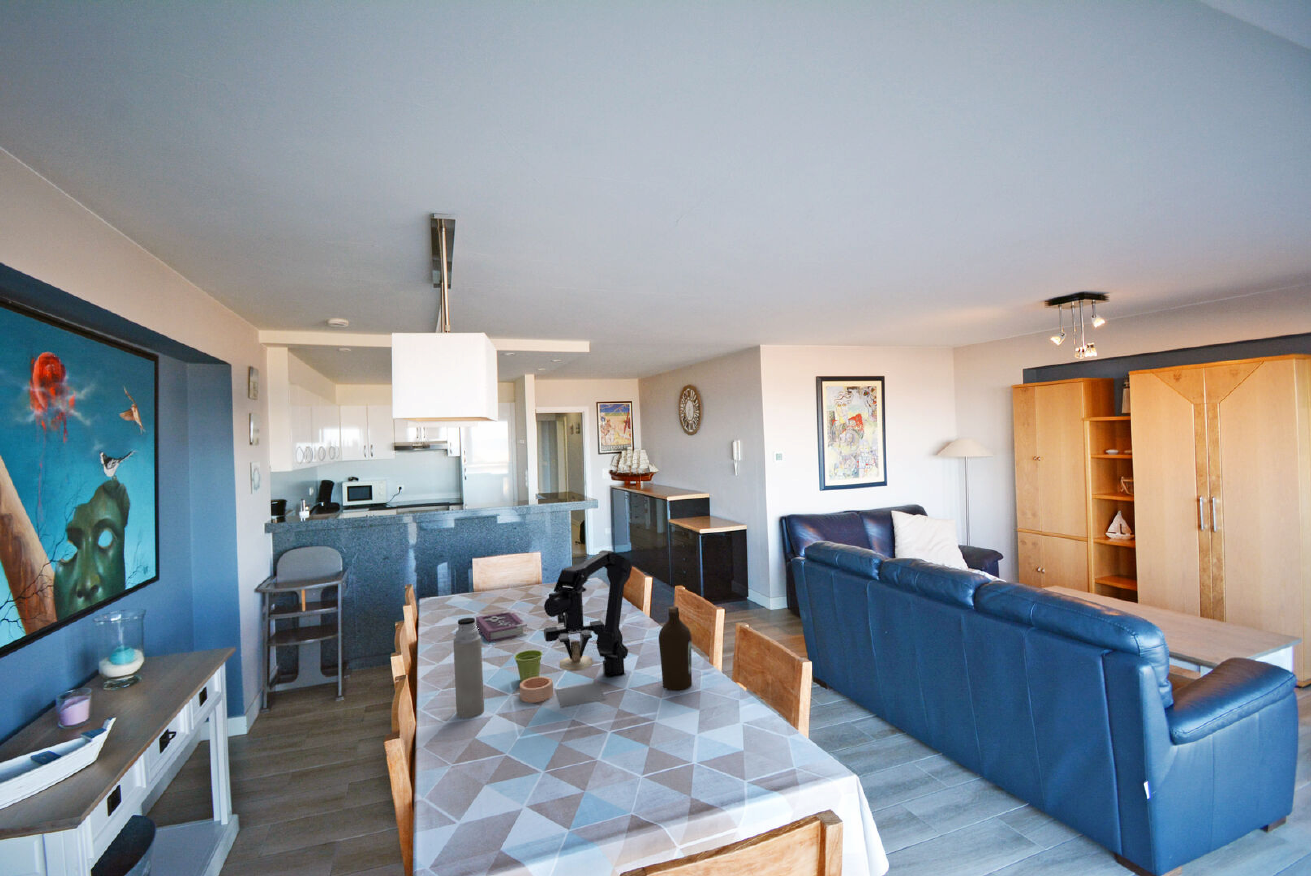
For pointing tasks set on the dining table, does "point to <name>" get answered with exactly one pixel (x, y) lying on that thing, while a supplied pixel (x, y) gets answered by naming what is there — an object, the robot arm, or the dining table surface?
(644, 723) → the dining table surface
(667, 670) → the olive oil
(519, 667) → the plant pot
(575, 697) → the mat
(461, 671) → the thermos bottle
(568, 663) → the lid
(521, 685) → the bowl
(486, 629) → the book
